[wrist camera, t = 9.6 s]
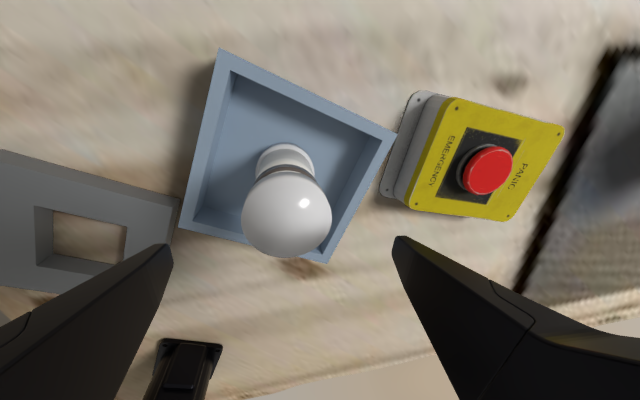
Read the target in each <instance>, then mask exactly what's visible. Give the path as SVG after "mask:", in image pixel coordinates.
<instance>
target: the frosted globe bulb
mask: <svg viewBox="0 0 640 400" xmlns="http://www.w3.org/2000/svg"><path fill="white" fill-rule="evenodd" d="M314 175H315V173H314V167H313V164H312V161H311V159H310V157H309V155H308V154H307V152H306V151H305V150H304V149H302V148H301V147H300V146H298V145H296V144H293V143H288V142H280V143H276V144H273V145H271V146H269V147H268V148H266V149H265V150H264V151H263V152H262V154H261V155H260V157H259V159H258V162H257V166H256V171H255V176H256V180H255V182H254V185H253V187H252V188H251V189H250V191H249V193H248V195H247V197H246V200H245V203H244V206H243V210H242V214H241V226H242V230H243V233H244V235H245V237H246V239H247V240H248V241H249V242H250V244H251V245H252V246H253V247H255V248H256V249H257V250H259V251H261V252H262V253H265V254H267V255H270V256H274V257H281V258H290V257H296V256H300V255H303V254H306V253H308V252H310V251H312V250H313V249H315V248H316V247H317V246H319V245H320V244H321V243H322V242H323V240H324V239H325V238H326V236H327V235H328V233H329V230H330V227H331V223H332V213H331V208H330V205H329V203H328V200H327V198H326V195H325V193H324V191H323V190H322V188H321V187H320V186H319V185H318V183H317V181H316V179H315V177H314Z"/></svg>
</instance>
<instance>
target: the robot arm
mask: <svg viewBox="0 0 640 400" xmlns="http://www.w3.org/2000/svg"><path fill="white" fill-rule="evenodd" d="M392 258H393V260H394V263H395V266H396V268H397V271H398V274H399V276H400V279H401V282H402V284H403V287H404V289H405V291H406V293H407V295H408V297H409V299H410V301H411V303H412V305H413V307H414V309H415V311H416V313H417V315H418V317H419V319H420V321H421V323H422V325H423V327H424V329H425V331H426V333H427V335H428V337H429V339H430V341H431V343H432V345H433V347H434V349H435V351H436V353H437V355H438V357H439V360H440V361H441V364H442V366H443V367H444V370H445V372H446V374H447V375H448V378H449V380H450V382H451V384H452V385H453V387H454V390H455V392H456V394H457V395H458V397H459V400H640V338H634V337H627V336H620V335H615V334H610V333H606V332H603V331H599V330H596V329H594V328H591V327H588V326H586V325H584V324H582V323H579V322H577V321H575V320H573V319H571V318H569V317H566V316H564V315H562V314H560V313H558V312H556V311H554V310H551V309H549V308H547V307H545V306H543V305H541V304H538V303H536V302H534V301H532V300H530V299H528V298H526V297H524V296H522V295H520V294H517V293H515V292H513V291H511V290H509V289H508V288H506V287H504V286H502V285H500V284H498V283H496V282H494V281H492V280H488V278H486V277H484V276H482V275H480V274H478V273H476V272H475V271H473V270H471V269H469V268H467V267H465V266H463V265H461V264H459V263H457V262H455V261H453V260H451V259H450V258H448V257H446V256H444V255H442V254H440V253H438V252H436V251H434V250H432V249H430V248H428V247H426V246H425V245H423V244H421V243H419V242H417V241H415V240H413V239H411V238H409V237H407V236H397V237H396V238H395V240H394V244H393V248H392ZM173 264H174V262H173V257H172V253H171V250H170V246H169V245H168V244H167V243H157V244H153V245H151V246H150V247H148V248H146V249H144V250H142V251H140V252H139V253H137V254H135V255H133V256H131V257H129V258H127V259H126V260H124V261H122V262H120V263H118V264H116V265H114V266H113V267H111V268H109V269H107V270H105V271H103V272H102V273H100V274H98V275H96V276H94V277H92V278H90V279H89V280H87V281H85V282H83V283H81V284H79V285H77V286H76V287H74V288H72V289H70V290H68V291H66V292H65V293H63V294H61V295H59V296H57V297H55V298H53V299H52V300H50V301H48V302H46V303H44V304H42V305H40V306H39V307H37V308H35V309H33V310H32V312H27V313H26V314H24V315H22V316H20V317H18V318H16V319H15V320H13V321H11V322H9V323H7V324H5V325H3V326H1V327H0V400H114V398H115V396H116V394H117V392H118V390H119V388H120V386H121V384H122V382H123V380H124V378H125V376H126V373H127V371H128V369H129V367H130V365H131V363H132V361H133V359H134V357H135V355H136V353H137V351H138V349H139V347H140V345H141V342H142V340H143V338H144V336H145V334H146V332H147V330H148V328H149V326H150V324H151V322H152V320H153V318H154V316H155V314H156V311H157V309H158V307H159V305H160V302H161V300H162V297H163V294H164V291H165V288H166V285H167V283H168V280H169V277H170V274H171V271H172V268H173ZM222 349H223V346H222V345H218V344H209V343H200V342H191V341H182V340H172V339H163V340H162V341H161V344H160V346H159V350H158V354H157V358H156V362H155V366H154V370H153V374H152V375H153V377H152V380H151V382H150V384H149V386H148V389H147V391H146V393H145V395H144V398H143V400H204V399H205V395H206V391H207V387H208V383H209V380H210V379H211V377H212V375H213V372H214V370H215V368H216V365H217V363H218V360H219V358H220V355H221V353H222Z"/></svg>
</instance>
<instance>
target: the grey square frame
mask: <svg viewBox="0 0 640 400" xmlns="http://www.w3.org/2000/svg"><path fill="white" fill-rule="evenodd" d="M179 203H180V199H178V198H174V197H171V196H167V195H163V194H160V193H156V192H153V191H149V190H146V189H142V188H138V187H135V186H131V185H128V184H124V183H121V182H117V181H113V180H110V179H106V178H103V177H99V176H95V175H92V174H88V173H85V172H81V171H78V170H74V169H70V168H67V167H63V166H60V165H56V164H53V163H49V162H45V161H42V160H38V159H35V158H31V157H27V156H24V155H20V154H17V153H13V152H10V151H6V150H0V285H1V286H8V287H15V288H21V289H28V290H35V291H42V292H49V293H56V294H63V293H65V292H66V291H68V290H70V289H72V288H74V287H76V286H77V285H79V284H81V283H83V282H85V281H87V280H89V279H90V278H92V277H94V276H96V275H98V274H100V273H102V272H103V271H105V270H107V269H109V268H111V267H113V266H114V265H112V264H107V263H101V262H96V261H91V260H85V259H80V258H74V257H69V256H64V255H58V254H53V210H56V211H60V212H65V213H69V214H73V215H78V216H82V217H86V218H91V219H95V220H99V221H104V222H108V223H112V224H117V225H121V226H125V227H127V234H126V242H125V249H124V257H123V261H124V260H126V259H127V258H129V257H131V256H133V255H135V254H137V253H139V252H140V251H142V250H144V249H146V248H148V247H150V246H151V245H153V244H157V243H167V244H168V245H169V246H170V244H171V239H172V235H173V230H174V226H175V221H176V216H177V212H178V207H179Z"/></svg>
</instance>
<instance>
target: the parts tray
mask: <svg viewBox="0 0 640 400" xmlns="http://www.w3.org/2000/svg"><path fill="white" fill-rule="evenodd" d="M397 135H398V134H396V133H394V132H392V131H390V130H388V129H386V128H384V127H382V126H380V125H378V124H376V123H374V122H372V121H370V120H368V119H365V118H363V117H361V116H359V115H357V114H355V113H353V112H351V111H349V110H347V109H345V108H343V107H341V106H339V105H337V104H335V103H332V102H330V101H328V100H326V99H324V98H322V97H320V96H318V95H316V94H314V93H312V92H310V91H308V90H306V89H304V88H302V87H299V86H297V85H295V84H293V83H291V82H289V81H287V80H285V79H283V78H281V77H279V76H277V75H275V74H273V73H271V72H269V71H267V70H264V69H262V68H260V67H258V66H256V65H254V64H252V63H250V62H248V61H246V60H244V59H242V58H240V57H238V56H236V55H234V54H231V53H229V52H227V51H225V50H223V49H221V48H219V49H218V53H217V58H216V62H215V67H214V71H213V75H212V80H211V84H210V89H209V93H208V97H207V102H206V106H205V110H204V115H203V119H202V124H201V128H200V132H199V137H198V141H197V146H196V150H195V154H194V159H193V163H192V167H191V172H190V176H189V181H188V185H187V189H186V194H185V198H184V202H183V207H182V211H181V216H180V220H179V224H178V228H183V229H187V230H191V231H195V232H199V233H203V234H207V235H211V236H215V237H219V238H223V239H227V240H232V241H236V242H240V243H244V244H248V245H251V244H250V242H249V241H248V240H247V239H246V237H245V235H244V233H243V230H242V226H241V214H242V210H243V206H244V203H245V200H246V197H247V195H248V193H249V191H250V189H251V188H252V187H253V185H254V182H255V180H256V176H255V171H256V166H257V162H258V159H259V157H260V155H261V154H262V152H263V151H264V150H265V149H266V148H268V147H269V146H271V145H273V144H276V143H280V142H288V143H293V144H296V145H298V146H300V147H301V148H302V149H304V150H305V151H306V152H307V154H308V155H309V157H310V159H311V161H312V164H313V167H314V173H315V175H314V177H315V179H316V181H317V183H318V185H319V186H320V187H321V188H322V190H323V191H324V193H325V195H326V198H327V200H328V203H329V205H330V208H331V213H332V223H331V227H330V230H329V233H328V235H327V236H326V238H325V239H324V240H323V242H322V243H321V244H320V245H319V246H317V247H316V248H315V249H313V250H312V251H310V252H308V253H306V254H303V255H300V256H297V257H301V258H305V259H309V260H313V261H317V262H321V263H325V264H327V263H328V261H329V259H330V258H331V256H332V254H333V252H334V250H335V248H336V247H337V245H338V243H339V241H340V239H341V237H342V236H343V234H344V232H345V230H346V228H347V226H348V225H349V223H350V221H351V219H352V217H353V215H354V214H355V212H356V210H357V208H358V206H359V205H360V203H361V201H362V199H363V197H364V195H365V194H366V192H367V190H368V188H369V186H370V184H371V183H372V181H373V179H374V177H375V175H376V173H377V172H378V170H379V168H380V166H381V164H382V162H383V161H384V159H385V157H386V155H387V153H388V151H389V150H390V148H391V146H392V144H393V142H394V141H395V139H396V137H397Z"/></svg>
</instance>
